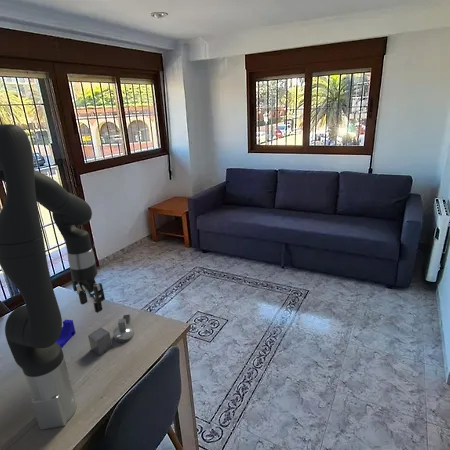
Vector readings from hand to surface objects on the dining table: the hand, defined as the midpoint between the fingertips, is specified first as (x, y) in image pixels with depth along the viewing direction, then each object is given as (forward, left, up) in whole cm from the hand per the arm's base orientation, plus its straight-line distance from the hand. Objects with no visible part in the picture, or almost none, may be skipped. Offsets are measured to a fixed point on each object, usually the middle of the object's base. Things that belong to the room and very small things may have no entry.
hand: (91, 307), depth 105 cm
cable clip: (+5, +15, -17) cm, 23 cm away
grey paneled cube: (-1, -1, -16) cm, 16 cm away
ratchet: (+7, -8, -16) cm, 20 cm away
